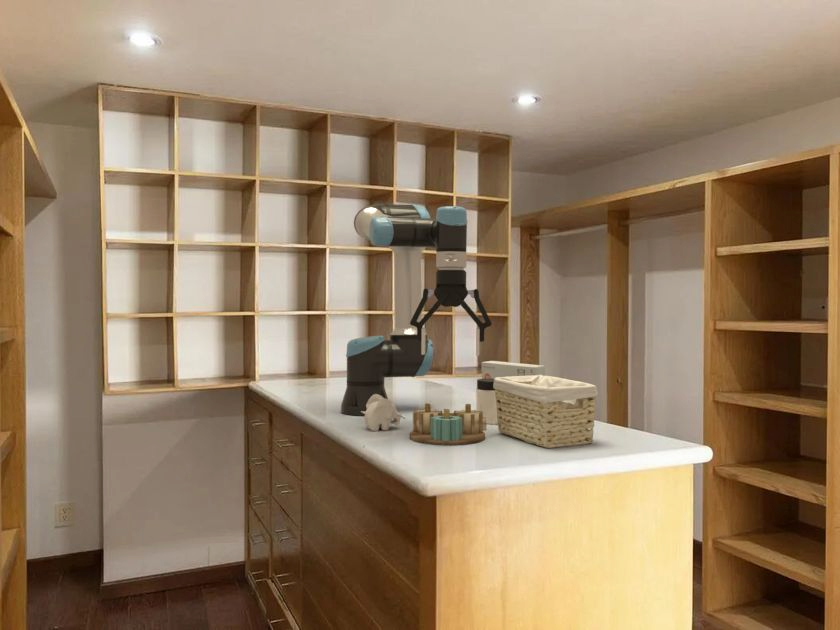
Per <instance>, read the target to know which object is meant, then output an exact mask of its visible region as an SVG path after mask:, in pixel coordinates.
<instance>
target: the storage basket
mask: <svg viewBox="0 0 840 630" xmlns="http://www.w3.org/2000/svg"><path fill="white" fill-rule="evenodd" d="M493 388H494V389H495V398H496V409H497V418H498V419H497V421H498V424H497V426H498V427H497V429H498V432H500V433H501V434H504V435H507V436H510V437H512V438H515V439H519V440H521V441H523V442H526V443H528V444H535V445H536V446H538V447H539V446H540V447H542V448H547V449H553V448H554V449H555V448H562V447H573V446H574V447H575V446H580V445H581V446H583V445H584V446H585V445H587V444H592V443H593V442H594V441H593V440H594V439H593V438H594V432H595V431H594V427H595V418H596V401H597V397H598V396H599V392H598V389H597V385H595V384H592V383H589V382H583V381H577V380H571V379H568V378H564V377H563V378H561V377H557V376H550V375H545V376H542V375H532V376H511V377H496V378H495V379H494V384H493Z"/></svg>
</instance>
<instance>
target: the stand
mask: <svg viewBox="0 0 840 630" xmlns="http://www.w3.org/2000/svg"><path fill="white" fill-rule="evenodd" d="M486 430H487V424H486V417H483V431H486Z"/></svg>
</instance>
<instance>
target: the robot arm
mask: <svg viewBox="0 0 840 630" xmlns="http://www.w3.org/2000/svg"><path fill="white" fill-rule="evenodd" d="M467 216H468V215H467V209H466V208H465V207H463V206H456V205H454V206H450V205H449V206H447V205H446V206H440V207H438V208H437V210H436V216H435V218H433V217H431V215H430V213H429V210H428V209H427V208H426V207H425V206H422V205H414V204H396V203H395V204H392V203H391V204H390V203H389V204H386V203H375V204H371V205H368V206H365V207H363V208H361V209H360V210H358V211H357V213H356V215H355V216H354V219H353V227H354V231H355V232H356V233H357V235H359V237H361V238H362V239H365V240H368V241H370V243H371V245H373V246H374V247H381V248H383V247H384V248H387V247H388V248H389V249H390V250H391V252H393V258H394V259H393V263H394V267H393V268H394V269H393V270H394V272H393V273H394V274H393V275H394V277H393V278H394V279H393V280H394V284H393V285H394V329H393V330H392V331H391V333H390V334H389V337H390V338H389V339H386V338H385V336H384V335H369V336H364V337H363V336H362V337H357V338H353V339H351V340H349V341H348V342H347V345H346V354H345V357H346V389H345V391H344V395H343V399H342V402H341V404H340V412H341V414H345V415H350V416H365V414H364V413H362V412H361V411H365V412H366V410H367V408H366V404H367V402H368V400H369V399H370V397H371V396H372V395H374V394H378V395H381V396H382V397H383V398H386V399H388V400H389V398H388V397H389V396H388V395H387V392H386V387H385V378H410V377H411V378H415V377H424V376H426V375H428V373H429V372H430V369H431V368H432V365H433V359H434V344H433V340H432V339H429V338H428V333H427V331H426V327H423V326H425V324H426V323H427V322H428V321H429V319H430V318H431V317H432V316H433V315H434V314H435V313H436V311H438V309H439V308H440V306H442V307H444V308H449V307H453V308H457V307H460V306H461V307H462V308H463V310H464V311H465V312H466V314H468V316H470V318H471V319H472V321H474V323H475V324H476V325H477V326H478V328H476V332H475V333H476V335H475V336H476V343H475V344H476V345H475V346H476V349H475V352H476V353H475V355H476V356H480V343H481V342H482V343H484V341H485V329H486V328H488V327H492V324H493V323H492V321H491V318H490V317H489V315H488V313H487V311H486V309H485V306H484V304H483V303H482V301H481V298H480V292H479V289H478V288H475V289H470V290H469V289H467V271H466V270H465V269H467V257H468V256H467V255H468V254H467V244H468V243H467V241H468V240H467V239H468V237H467V236H468V233H467V232H468V231H467V230H468V217H467ZM427 248H432V249H435V250H436V251H435V253H436V256H435V260H436V261H435V262H436V263H435V267H436V268H437V270H436V272H435V289H428V288H423V289H422V286H423V285H422V253H423V251H424V250H425V249H427ZM422 291H423V292H422ZM433 295H434V297H435V298H436V300H437V301H436V302H435V303H434V304H433V305H432V307H431V308H430V310H428V312H427V313H426V314H425V315H424V316H423V309H424V307H425V305H426V304H427V301H428V299H429V298H431V297H432V296H433ZM468 295H470V298H471V299H474V301H475V304H476V306H477V307H478V309H479V312H480V314H481V316H482V318H483V320H484V322H482V320H481V319H480V318H479V317H478V315H477V314H476V313H475V312H474V311H473V310H472V309H471V307H470V306H469V305H468V304H467V302H466V301H465V299H466V298H467V296H468Z"/></svg>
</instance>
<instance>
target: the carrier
mask: <svg viewBox="0 0 840 630" xmlns="http://www.w3.org/2000/svg"><path fill="white" fill-rule="evenodd" d="M464 406H465V407H464V409H460V410H453V412H450V409H449V408H444V409H443V411H442V410H439V409H431V403H425V404H424V409H417V410H414V411H412V430H411V431H410V432H409V439H410V440H411V441H413V442H414V443H419V444H425V445H433V446H465V445H472V444H477V443H481V442H483V441H485V440H486V433H485V431H484V430H483V412H482V411H476V409H473V410H472V404H471V403H465V405H464ZM435 416H444V419H449V416H459V417H460V418H462V439H459V440H458V441H451V440H450V441H442V440H440V441H439V440H434V439H433V438H431V417H435Z"/></svg>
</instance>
